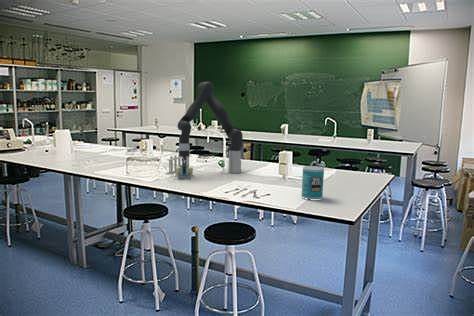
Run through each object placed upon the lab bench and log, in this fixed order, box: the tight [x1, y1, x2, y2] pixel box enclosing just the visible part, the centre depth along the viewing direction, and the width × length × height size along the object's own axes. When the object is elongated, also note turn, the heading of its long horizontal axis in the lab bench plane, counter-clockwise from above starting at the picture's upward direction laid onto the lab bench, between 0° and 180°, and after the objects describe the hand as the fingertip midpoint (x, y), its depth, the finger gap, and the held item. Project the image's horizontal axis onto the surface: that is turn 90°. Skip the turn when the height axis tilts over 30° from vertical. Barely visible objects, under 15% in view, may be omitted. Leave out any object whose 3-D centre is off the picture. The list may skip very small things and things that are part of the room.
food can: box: [301, 165, 325, 200], centre depth 216 cm, size 12×12×18 cm
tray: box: [177, 173, 192, 180], centre depth 263 cm, size 9×9×2 cm
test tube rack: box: [165, 154, 192, 175], centre depth 283 cm, size 25×4×13 cm, turn 148°
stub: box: [180, 164, 190, 175], centre depth 262 cm, size 6×5×6 cm
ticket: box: [175, 166, 194, 177], centre depth 270 cm, size 12×5×6 cm, turn 99°
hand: (184, 173), depth 263 cm, fingers closed on stub, 5 cm apart
